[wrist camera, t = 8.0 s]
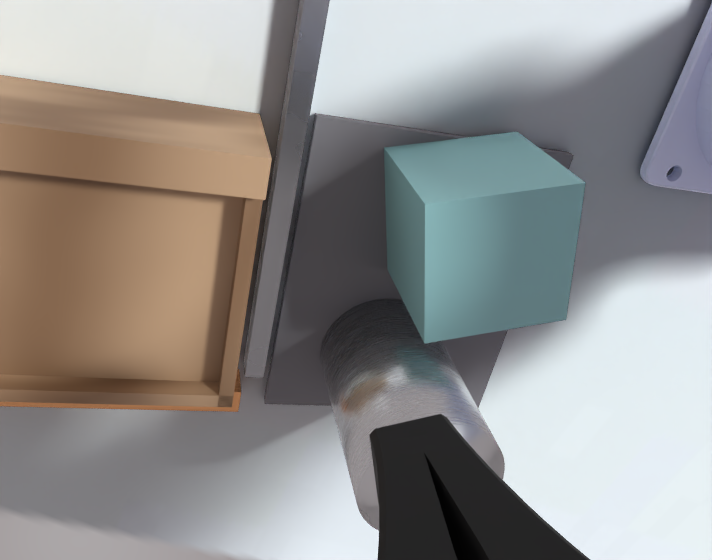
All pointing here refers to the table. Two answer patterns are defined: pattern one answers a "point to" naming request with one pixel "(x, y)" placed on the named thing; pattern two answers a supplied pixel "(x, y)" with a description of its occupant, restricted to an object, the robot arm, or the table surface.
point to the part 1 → (480, 234)
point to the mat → (350, 257)
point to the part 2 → (392, 389)
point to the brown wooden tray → (124, 245)
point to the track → (279, 203)
